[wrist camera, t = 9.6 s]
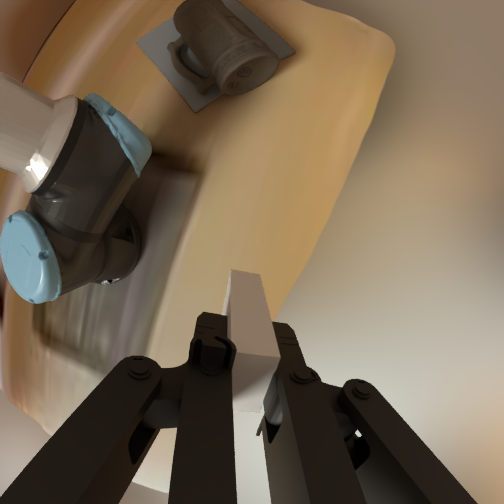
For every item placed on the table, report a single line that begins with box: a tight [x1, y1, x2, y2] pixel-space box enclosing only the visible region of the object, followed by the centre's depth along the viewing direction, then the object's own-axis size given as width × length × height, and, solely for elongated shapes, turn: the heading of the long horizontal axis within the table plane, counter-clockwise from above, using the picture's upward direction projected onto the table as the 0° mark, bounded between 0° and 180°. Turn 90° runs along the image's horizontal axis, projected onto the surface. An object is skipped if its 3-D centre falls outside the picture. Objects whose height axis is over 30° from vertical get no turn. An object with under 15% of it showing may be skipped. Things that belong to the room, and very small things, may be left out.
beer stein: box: [167, 0, 279, 96], centre depth 37 cm, size 15×11×20 cm
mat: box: [136, 0, 296, 113], centre depth 41 cm, size 24×22×1 cm
